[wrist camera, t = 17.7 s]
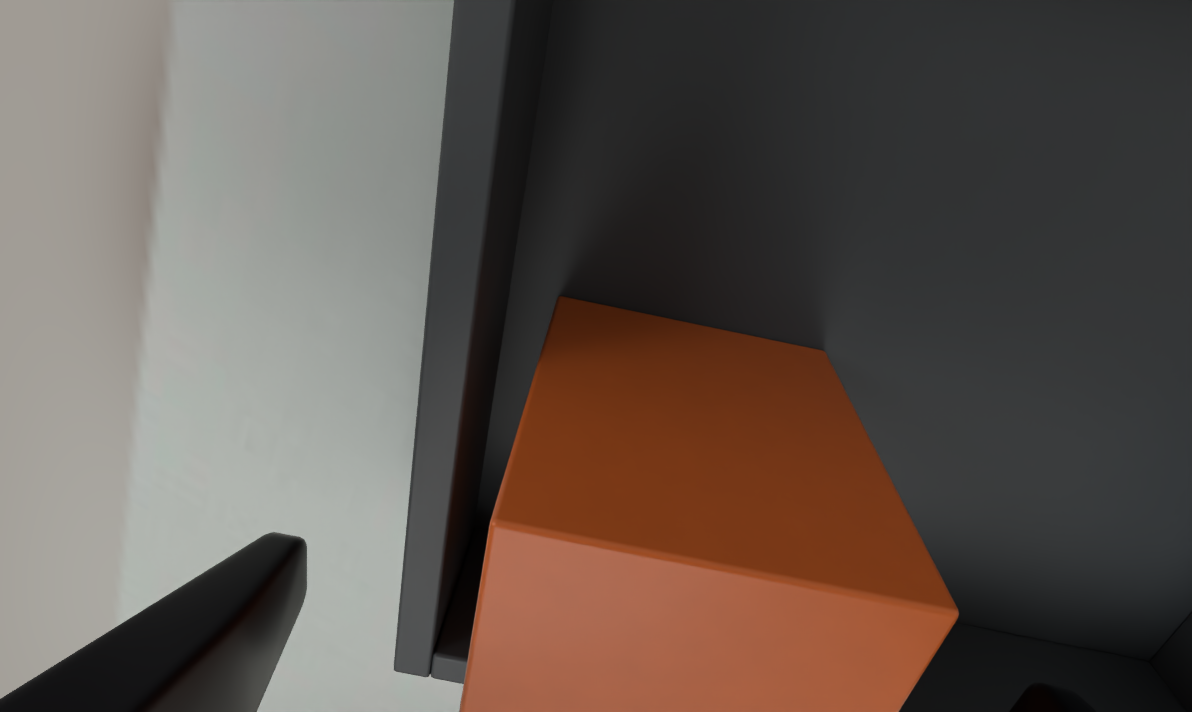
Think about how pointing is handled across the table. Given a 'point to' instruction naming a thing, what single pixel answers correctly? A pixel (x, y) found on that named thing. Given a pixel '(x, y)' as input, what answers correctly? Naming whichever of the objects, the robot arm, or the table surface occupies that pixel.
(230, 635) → the robot arm
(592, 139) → the tub
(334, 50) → the table surface
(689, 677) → the block
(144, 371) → the table surface
